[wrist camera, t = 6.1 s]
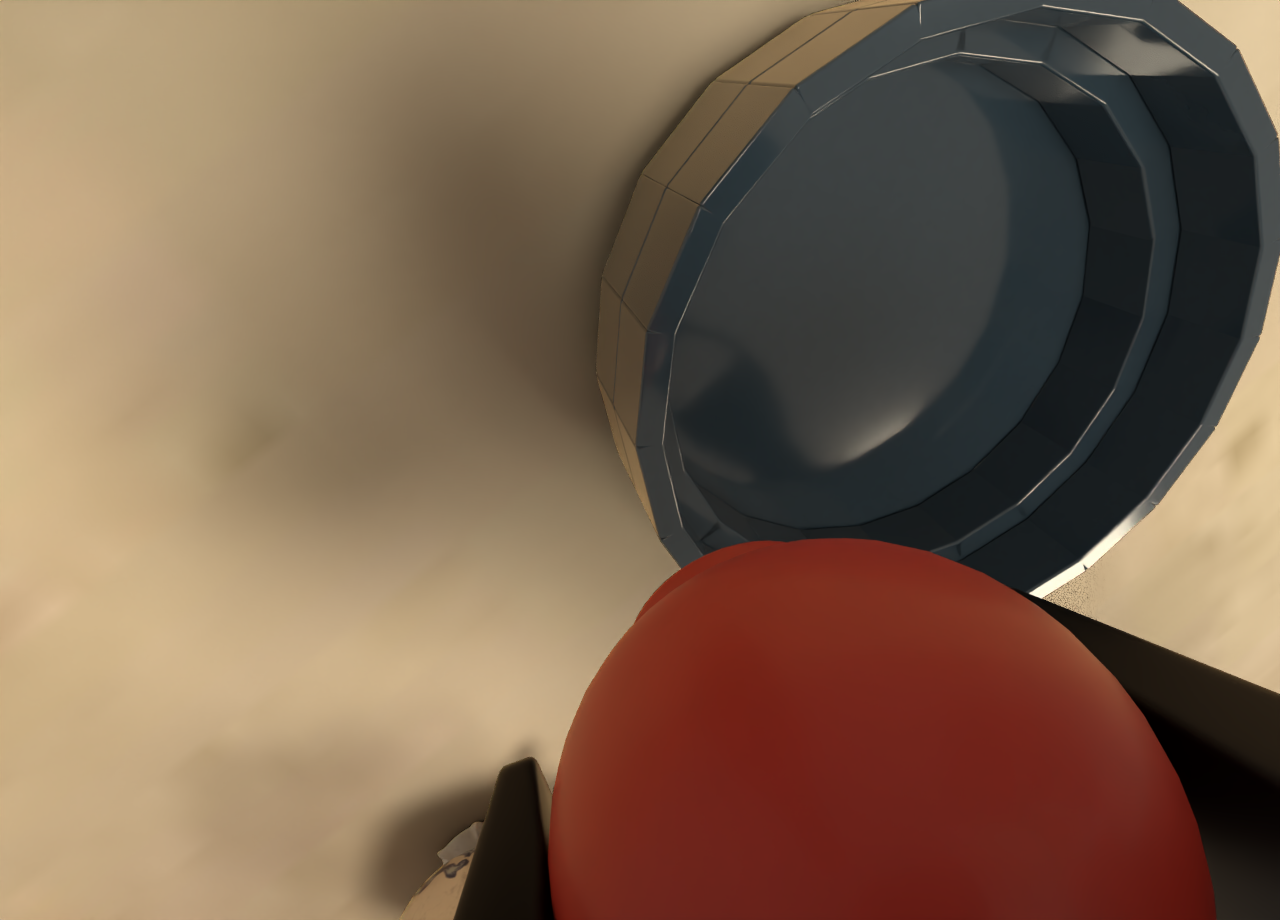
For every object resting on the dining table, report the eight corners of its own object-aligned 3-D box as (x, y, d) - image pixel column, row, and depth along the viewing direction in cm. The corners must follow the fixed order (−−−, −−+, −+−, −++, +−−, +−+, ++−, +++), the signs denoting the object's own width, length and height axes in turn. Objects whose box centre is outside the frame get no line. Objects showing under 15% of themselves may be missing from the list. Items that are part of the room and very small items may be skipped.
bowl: (1138, -77, 17) (1369, -122, 13) (1080, 461, 25) (1214, 544, 21) (513, 90, 16) (544, 102, 11) (658, 609, 24) (709, 730, 19)
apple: (938, 376, 9) (2112, 1114, 3) (935, 706, 12) (1479, 1398, 6) (449, 533, 8) (530, 1988, 2) (581, 839, 11) (770, 1781, 5)
